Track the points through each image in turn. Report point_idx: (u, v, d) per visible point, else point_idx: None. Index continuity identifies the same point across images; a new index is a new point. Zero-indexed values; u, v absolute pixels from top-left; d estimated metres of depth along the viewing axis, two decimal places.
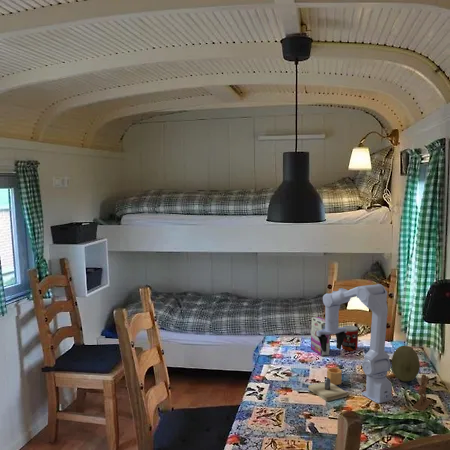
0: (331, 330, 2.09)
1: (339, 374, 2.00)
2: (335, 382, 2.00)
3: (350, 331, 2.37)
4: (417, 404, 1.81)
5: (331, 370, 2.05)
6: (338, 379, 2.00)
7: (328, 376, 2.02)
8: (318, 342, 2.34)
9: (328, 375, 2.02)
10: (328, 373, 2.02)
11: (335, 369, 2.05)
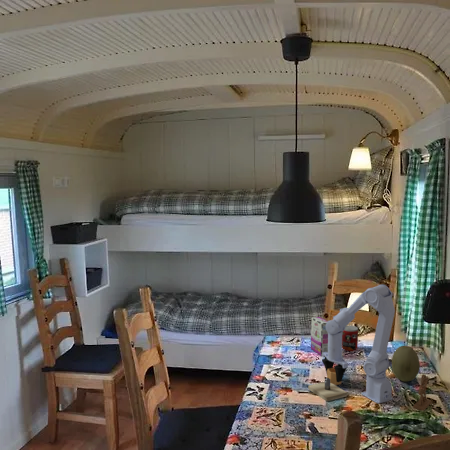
0: (327, 356, 2.03)
1: None
2: (335, 382, 2.00)
3: (350, 331, 2.37)
4: (417, 404, 1.81)
5: (331, 370, 2.05)
6: None
7: (328, 376, 2.02)
8: (318, 342, 2.34)
9: (328, 375, 2.02)
10: (328, 373, 2.02)
11: None
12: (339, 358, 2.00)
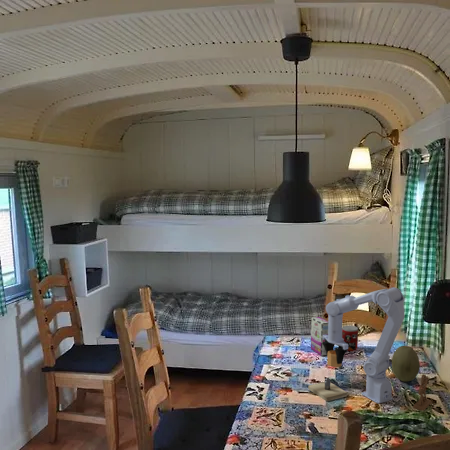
0: (328, 338, 2.02)
1: None
2: (335, 364, 1.99)
3: (350, 331, 2.37)
4: (417, 404, 1.81)
5: (331, 352, 2.04)
6: None
7: (328, 358, 2.01)
8: (318, 342, 2.34)
9: (328, 357, 2.01)
10: (328, 355, 2.01)
11: None
12: (339, 340, 1.99)
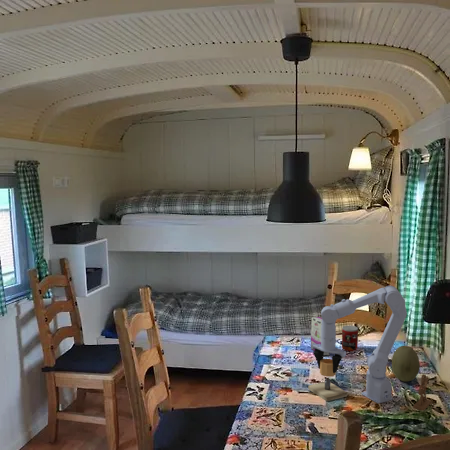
0: (321, 347, 1.90)
1: None
2: (331, 373, 1.89)
3: (350, 331, 2.37)
4: (417, 404, 1.81)
5: (323, 362, 1.93)
6: None
7: (323, 368, 1.90)
8: (318, 342, 2.34)
9: (323, 367, 1.90)
10: (323, 365, 1.90)
11: (326, 360, 1.94)
12: (334, 347, 1.89)
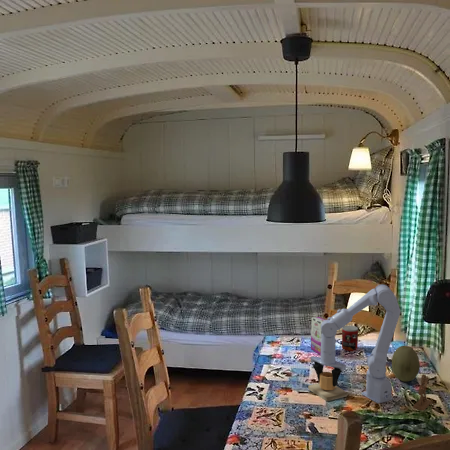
0: (321, 360, 1.91)
1: None
2: (331, 387, 1.90)
3: (350, 331, 2.37)
4: (417, 404, 1.81)
5: (323, 375, 1.94)
6: None
7: (323, 382, 1.90)
8: (318, 342, 2.34)
9: (323, 381, 1.90)
10: (323, 379, 1.90)
11: (326, 373, 1.94)
12: (334, 361, 1.90)
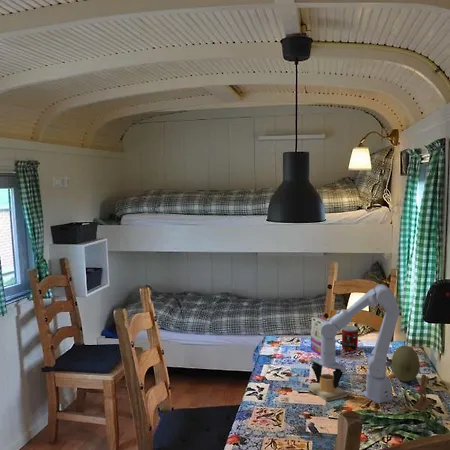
0: (321, 361, 1.91)
1: None
2: (331, 389, 1.90)
3: (350, 331, 2.37)
4: (417, 404, 1.81)
5: (323, 377, 1.94)
6: (333, 386, 1.91)
7: (323, 384, 1.90)
8: (318, 342, 2.34)
9: (323, 383, 1.90)
10: (323, 381, 1.90)
11: (326, 375, 1.95)
12: (334, 362, 1.90)
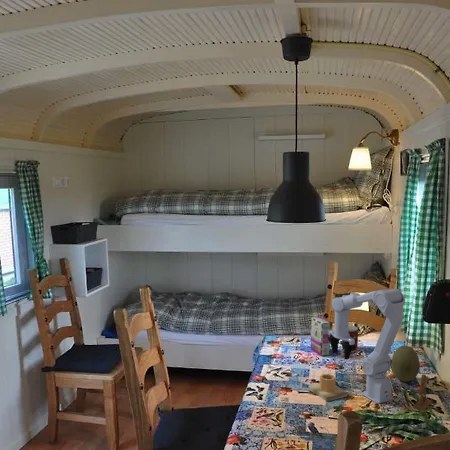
0: (334, 333, 2.04)
1: (334, 380, 1.91)
2: (331, 389, 1.90)
3: (350, 331, 2.37)
4: (417, 404, 1.81)
5: (323, 377, 1.94)
6: (333, 386, 1.91)
7: (323, 384, 1.90)
8: (318, 342, 2.34)
9: (323, 383, 1.90)
10: (323, 381, 1.90)
11: (326, 375, 1.95)
12: (346, 335, 2.01)
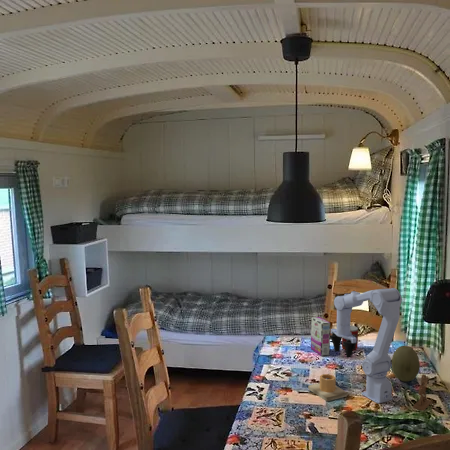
0: (336, 331, 2.06)
1: (334, 380, 1.91)
2: (331, 389, 1.90)
3: (350, 331, 2.37)
4: (417, 404, 1.81)
5: (323, 377, 1.94)
6: (333, 386, 1.91)
7: (323, 384, 1.90)
8: (318, 342, 2.34)
9: (323, 383, 1.90)
10: (323, 381, 1.90)
11: (326, 375, 1.95)
12: (348, 333, 2.03)
